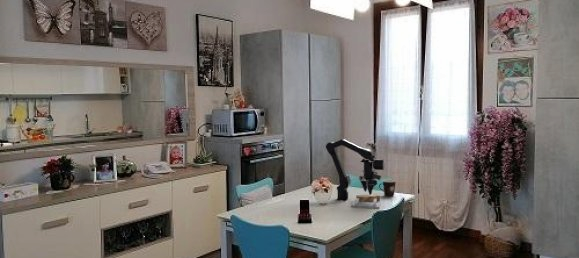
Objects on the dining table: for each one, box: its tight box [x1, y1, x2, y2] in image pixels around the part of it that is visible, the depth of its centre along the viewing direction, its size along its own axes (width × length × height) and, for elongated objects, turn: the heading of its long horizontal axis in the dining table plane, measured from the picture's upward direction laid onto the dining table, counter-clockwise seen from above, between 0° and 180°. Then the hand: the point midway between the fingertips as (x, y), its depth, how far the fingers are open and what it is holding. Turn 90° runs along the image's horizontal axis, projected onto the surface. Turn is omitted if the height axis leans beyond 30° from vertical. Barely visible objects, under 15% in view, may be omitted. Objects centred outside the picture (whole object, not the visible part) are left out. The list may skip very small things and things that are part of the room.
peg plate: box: [350, 198, 381, 210], centre depth 281 cm, size 17×10×4 cm, turn 75°
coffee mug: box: [378, 179, 397, 197], centre depth 310 cm, size 12×9×10 cm
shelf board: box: [355, 193, 381, 203], centre depth 294 cm, size 14×6×4 cm, turn 104°
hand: (367, 193), depth 293 cm, fingers open, 9 cm apart
